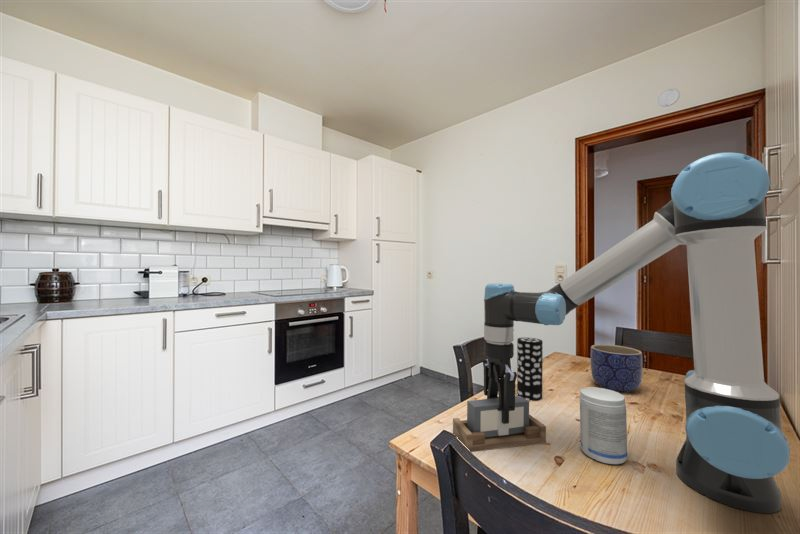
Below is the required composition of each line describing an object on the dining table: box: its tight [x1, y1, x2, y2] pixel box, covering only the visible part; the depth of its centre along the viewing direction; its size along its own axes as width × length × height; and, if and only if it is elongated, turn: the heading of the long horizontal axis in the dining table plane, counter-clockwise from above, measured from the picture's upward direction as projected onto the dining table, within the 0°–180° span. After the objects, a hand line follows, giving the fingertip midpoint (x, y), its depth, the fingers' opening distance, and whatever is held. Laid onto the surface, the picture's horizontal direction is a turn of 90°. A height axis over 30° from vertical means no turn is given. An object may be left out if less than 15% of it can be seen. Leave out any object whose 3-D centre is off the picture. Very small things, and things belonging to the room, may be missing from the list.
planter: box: [590, 344, 643, 394], centre depth 123 cm, size 16×17×15 cm
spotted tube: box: [516, 337, 544, 402], centre depth 114 cm, size 8×8×20 cm
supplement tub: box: [579, 386, 628, 465], centre depth 77 cm, size 10×10×15 cm
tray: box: [452, 413, 547, 453], centre depth 84 cm, size 9×22×4 cm, turn 103°
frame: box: [466, 395, 530, 438], centre depth 84 cm, size 4×16×8 cm, turn 105°
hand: (498, 429), depth 84 cm, fingers closed on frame, 4 cm apart
